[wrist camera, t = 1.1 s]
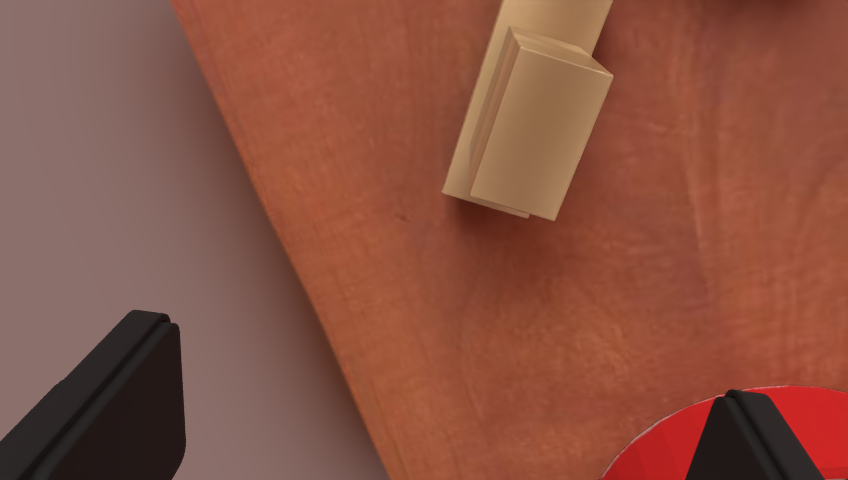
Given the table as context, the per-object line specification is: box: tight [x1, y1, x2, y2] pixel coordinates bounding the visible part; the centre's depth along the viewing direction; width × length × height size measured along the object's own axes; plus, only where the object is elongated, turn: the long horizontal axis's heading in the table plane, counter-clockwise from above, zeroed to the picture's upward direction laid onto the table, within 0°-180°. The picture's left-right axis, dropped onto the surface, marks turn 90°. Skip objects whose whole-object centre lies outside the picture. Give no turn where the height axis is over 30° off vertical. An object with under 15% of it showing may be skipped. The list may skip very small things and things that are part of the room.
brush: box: [442, 0, 614, 221], centre depth 24 cm, size 4×10×9 cm, turn 164°
